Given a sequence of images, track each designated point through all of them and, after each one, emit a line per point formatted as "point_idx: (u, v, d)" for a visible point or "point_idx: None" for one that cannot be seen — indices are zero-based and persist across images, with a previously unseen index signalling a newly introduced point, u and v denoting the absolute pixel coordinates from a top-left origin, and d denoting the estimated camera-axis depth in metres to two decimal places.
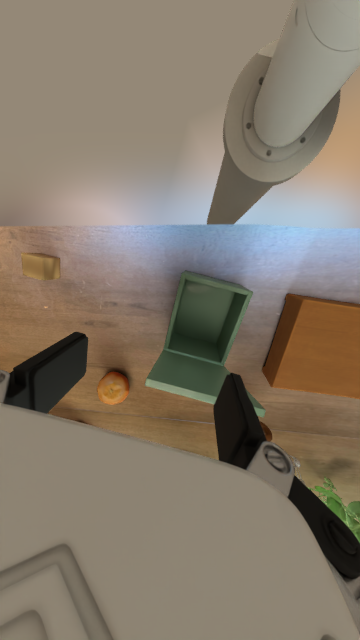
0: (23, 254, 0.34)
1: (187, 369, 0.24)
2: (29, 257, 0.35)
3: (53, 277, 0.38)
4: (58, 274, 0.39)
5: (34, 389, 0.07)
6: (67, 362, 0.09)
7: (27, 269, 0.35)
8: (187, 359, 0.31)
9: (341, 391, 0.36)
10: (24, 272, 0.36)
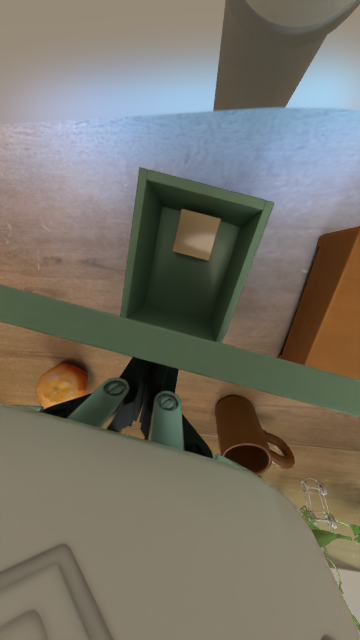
0: (184, 212, 0.19)
1: None
2: (195, 218, 0.19)
3: None
4: None
5: (141, 394, 0.08)
6: (152, 369, 0.10)
7: (184, 240, 0.20)
8: None
9: None
10: (176, 246, 0.20)
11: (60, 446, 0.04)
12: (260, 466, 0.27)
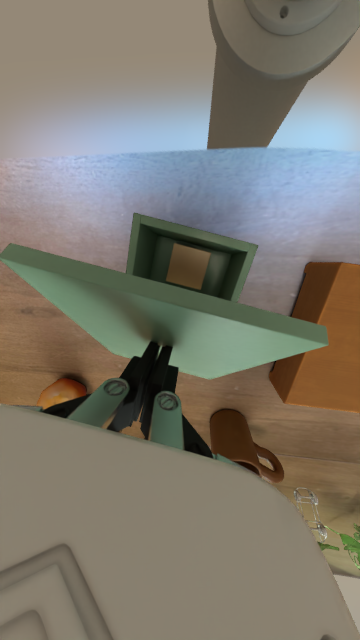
0: (177, 246, 0.20)
1: None
2: (187, 252, 0.20)
3: None
4: None
5: (141, 394, 0.08)
6: (152, 369, 0.10)
7: (176, 271, 0.21)
8: None
9: None
10: (170, 276, 0.21)
11: (60, 446, 0.04)
12: None
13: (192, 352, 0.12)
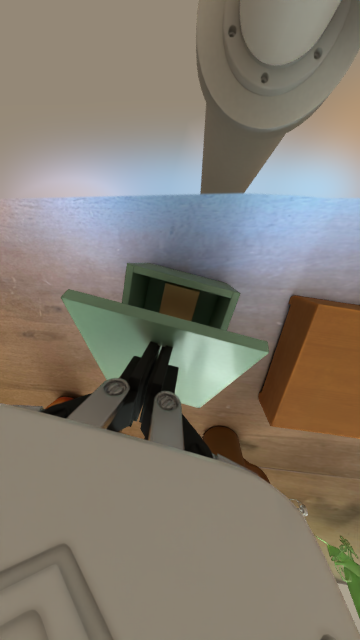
0: (168, 285, 0.22)
1: None
2: (177, 291, 0.22)
3: None
4: None
5: (141, 394, 0.08)
6: (151, 369, 0.10)
7: (168, 307, 0.23)
8: None
9: None
10: (162, 312, 0.23)
11: (60, 446, 0.04)
12: None
13: (183, 371, 0.14)
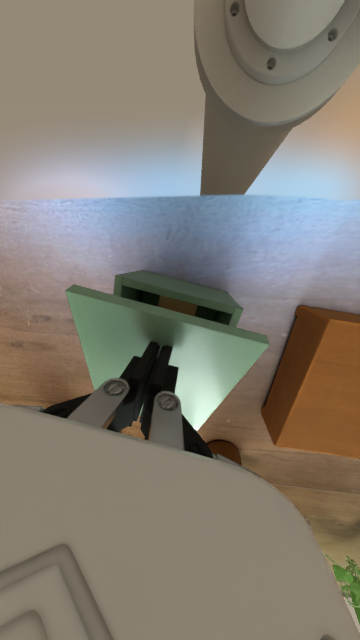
0: (163, 297, 0.20)
1: None
2: (173, 303, 0.20)
3: None
4: None
5: (141, 394, 0.08)
6: (152, 369, 0.10)
7: None
8: None
9: None
10: None
11: (60, 446, 0.04)
12: None
13: (182, 377, 0.14)
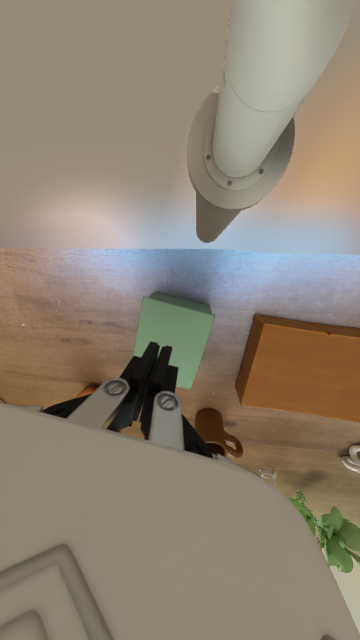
0: None
1: None
2: None
3: None
4: None
5: (141, 394, 0.08)
6: (152, 369, 0.10)
7: None
8: None
9: (307, 409, 0.37)
10: None
11: (60, 446, 0.04)
12: None
13: (183, 340, 0.31)
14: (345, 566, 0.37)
